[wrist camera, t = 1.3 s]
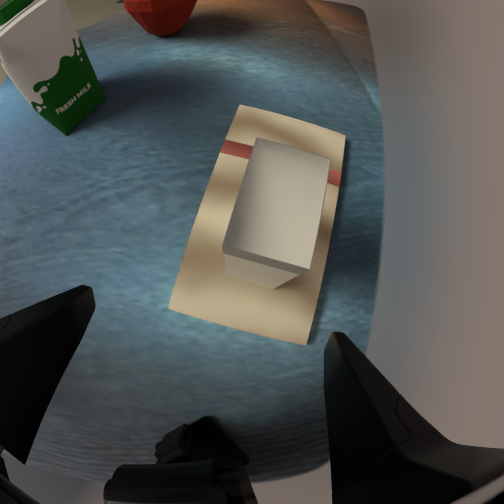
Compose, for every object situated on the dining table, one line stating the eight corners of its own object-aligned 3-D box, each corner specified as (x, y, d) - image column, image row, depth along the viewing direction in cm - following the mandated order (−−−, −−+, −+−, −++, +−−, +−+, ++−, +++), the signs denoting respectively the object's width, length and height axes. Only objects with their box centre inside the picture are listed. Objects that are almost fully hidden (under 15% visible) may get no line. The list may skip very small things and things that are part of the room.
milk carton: (85, 78, 28) (39, -22, 9) (115, 97, 28) (66, -29, 8) (40, 120, 26) (-25, 28, 7) (64, 145, 26) (-19, 33, 6)
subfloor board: (303, 344, 23) (306, 345, 22) (170, 308, 23) (167, 308, 22) (342, 140, 28) (345, 135, 27) (239, 110, 28) (239, 104, 27)
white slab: (273, 289, 23) (310, 270, 12) (226, 276, 23) (222, 245, 12) (290, 222, 24) (331, 159, 14) (245, 210, 24) (256, 136, 14)
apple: (200, 13, 33) (198, -41, 21) (204, 41, 31) (202, -26, 19) (137, 25, 32) (126, -27, 20) (130, 55, 30) (113, -7, 18)
